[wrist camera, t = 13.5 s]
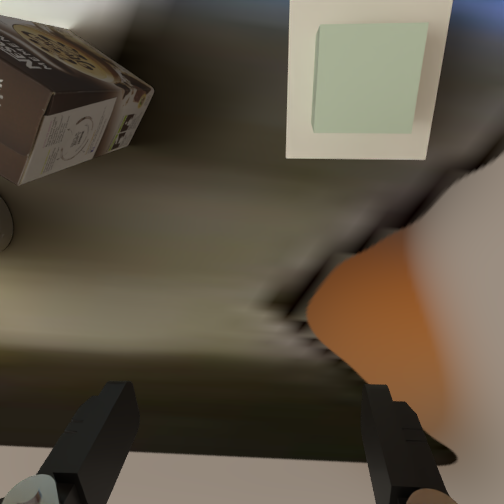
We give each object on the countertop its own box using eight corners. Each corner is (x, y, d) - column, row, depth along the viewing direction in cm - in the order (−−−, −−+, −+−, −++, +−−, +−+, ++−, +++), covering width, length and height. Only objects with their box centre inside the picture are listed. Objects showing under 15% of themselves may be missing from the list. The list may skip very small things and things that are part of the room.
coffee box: (157, 87, 35) (57, 93, 20) (128, 147, 38) (20, 192, 23) (66, 25, 34) (-111, -16, 19) (42, 92, 36) (-131, 101, 22)
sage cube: (311, 122, 28) (313, 132, 23) (315, 34, 25) (320, 24, 20) (390, 123, 27) (411, 133, 22) (402, 33, 25) (428, 22, 20)
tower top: (287, 149, 33) (285, 158, 29) (290, 9, 28) (289, 0, 25) (410, 150, 32) (425, 159, 28) (433, 5, 27) (453, -6, 24)
